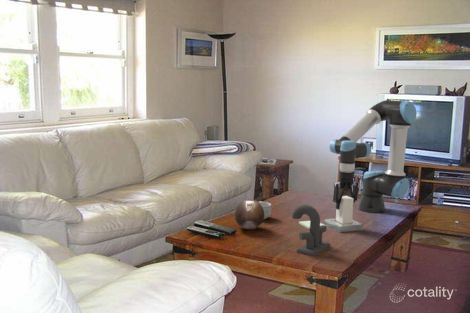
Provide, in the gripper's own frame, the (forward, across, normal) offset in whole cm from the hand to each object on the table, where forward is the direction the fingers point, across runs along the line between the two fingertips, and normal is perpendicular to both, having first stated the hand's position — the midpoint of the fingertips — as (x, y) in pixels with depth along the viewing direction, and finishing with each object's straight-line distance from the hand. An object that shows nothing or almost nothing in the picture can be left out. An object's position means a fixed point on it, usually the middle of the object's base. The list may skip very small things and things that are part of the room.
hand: (344, 214), depth 271 cm
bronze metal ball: (+7, +48, -13) cm, 50 cm away
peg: (+4, 0, 0) cm, 4 cm away
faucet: (+7, +35, +21) cm, 41 cm away
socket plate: (+7, 0, 0) cm, 7 cm away
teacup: (+7, +33, -30) cm, 45 cm away
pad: (+7, +14, -8) cm, 18 cm away
